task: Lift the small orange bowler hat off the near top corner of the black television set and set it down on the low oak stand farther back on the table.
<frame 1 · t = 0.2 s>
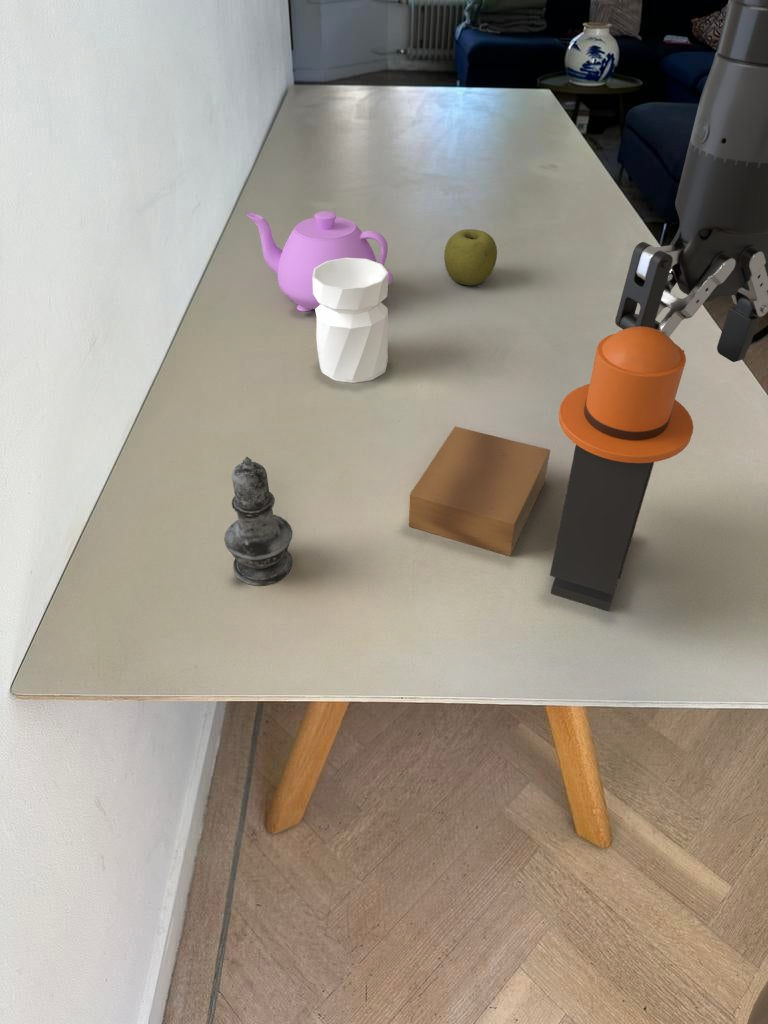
hand: (687, 368, 58), 18 cm above the table, tool pointing down, fingers open, 8 cm apart
salt shaker: (263, 566, 68), on the table
hat: (623, 423, 53), point 18 cm above the table, touching hand, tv
stand: (479, 503, 74), on the table
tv: (592, 564, 68), on the table
vase: (353, 366, 95), on the table
teapot: (323, 300, 109), on the table
apple: (468, 283, 113), on the table
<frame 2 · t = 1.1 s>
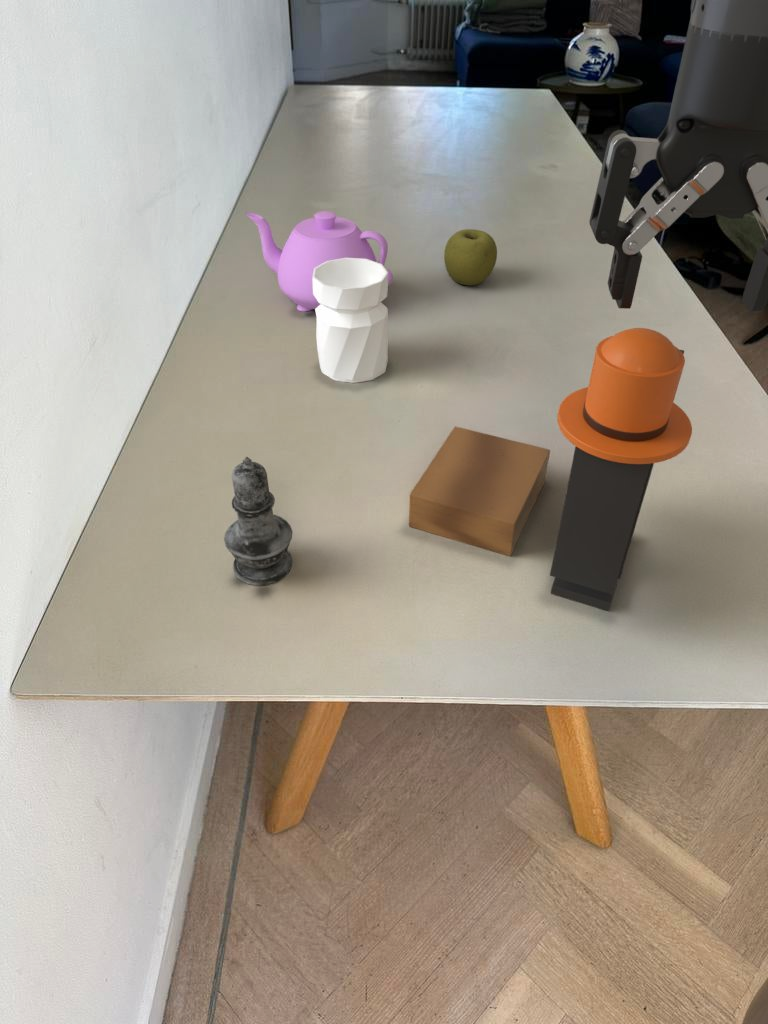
hand: (686, 305, 51), 25 cm above the table, tool pointing down, fingers open, 8 cm apart
hat: (622, 425, 53), point 18 cm above the table, touching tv
everything else where it was.
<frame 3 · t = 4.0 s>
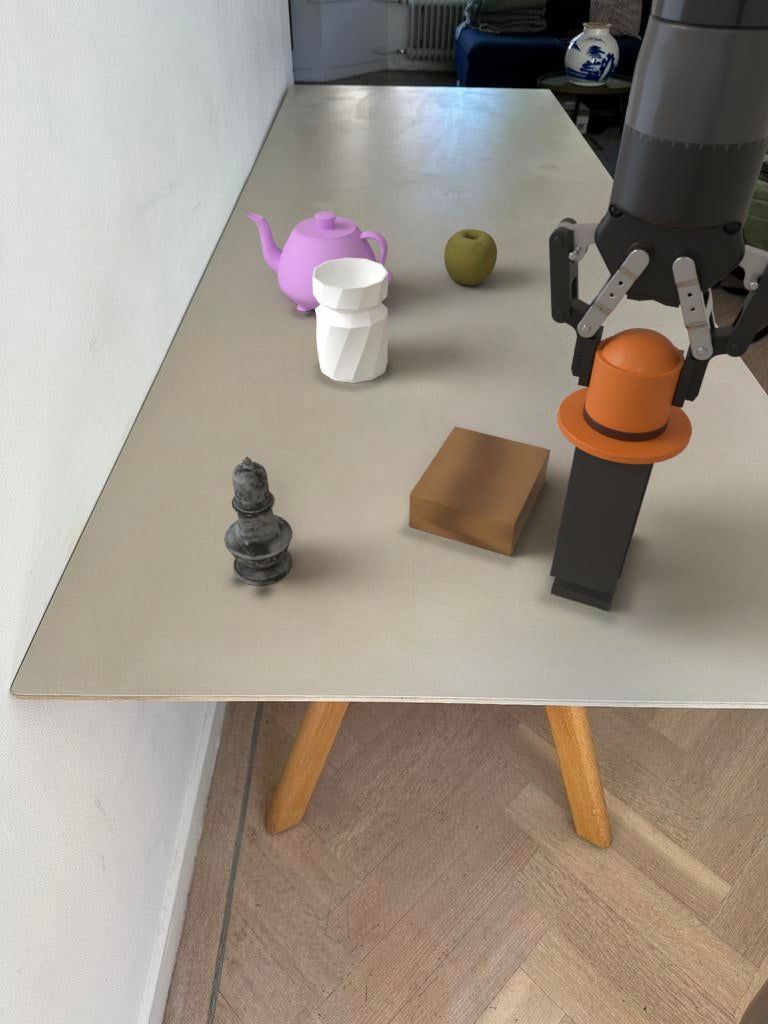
hand: (632, 390, 51), 21 cm above the table, tool pointing down, fingers closed on hat, 5 cm apart
hat: (622, 425, 53), point 18 cm above the table, touching gripper, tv
everything else where it was.
when the fingers open (7 cm above the table, at t = 13.3 s): hat stays where it is, resting on stand.
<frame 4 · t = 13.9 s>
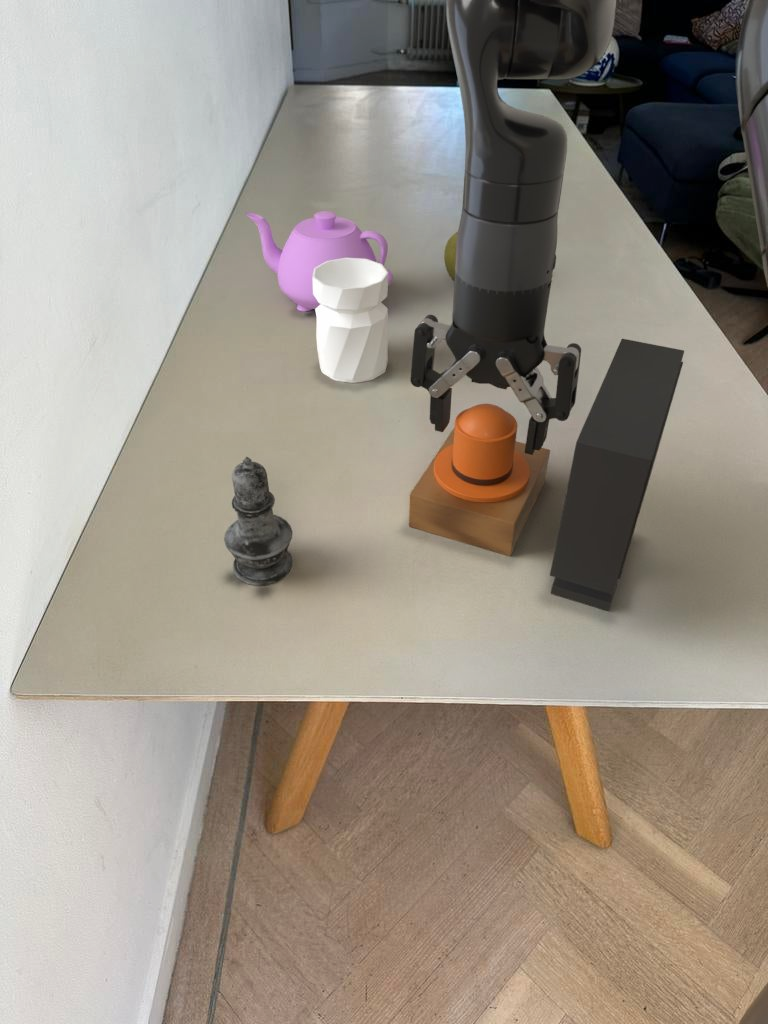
hand: (486, 438, 69), 8 cm above the table, tool pointing down, fingers open, 8 cm apart
hat: (481, 472, 72), point 4 cm above the table, touching stand
everything else where it was.
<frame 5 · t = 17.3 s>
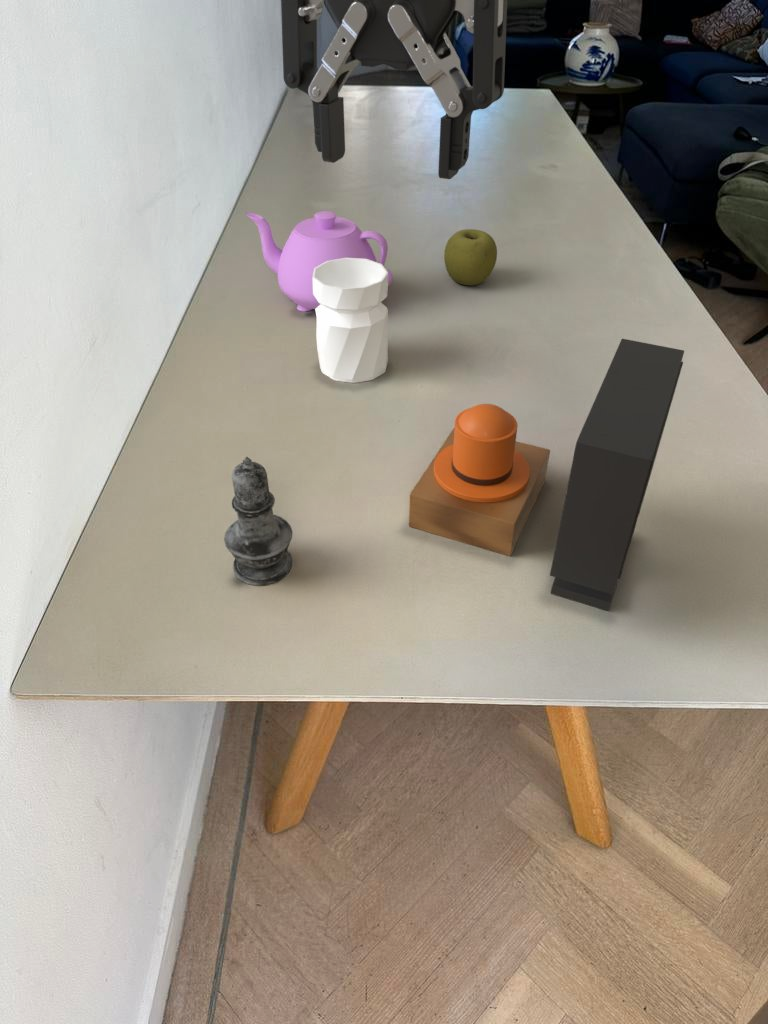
hand: (390, 167, 52), 32 cm above the table, tool pointing down, fingers open, 8 cm apart
nothing on the table moved.
at the end: hat inside the target area on the stand (0.2 cm from its centre), point 4.0 cm above the stand's base; hat tilted 0°; hat touching stand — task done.
